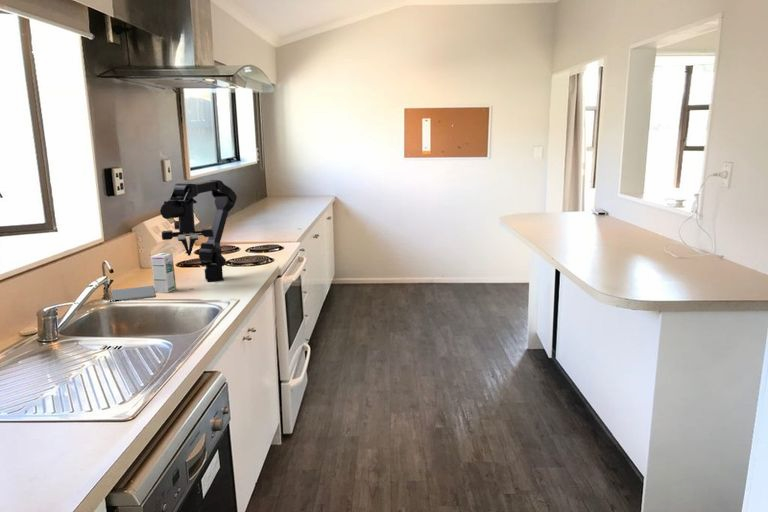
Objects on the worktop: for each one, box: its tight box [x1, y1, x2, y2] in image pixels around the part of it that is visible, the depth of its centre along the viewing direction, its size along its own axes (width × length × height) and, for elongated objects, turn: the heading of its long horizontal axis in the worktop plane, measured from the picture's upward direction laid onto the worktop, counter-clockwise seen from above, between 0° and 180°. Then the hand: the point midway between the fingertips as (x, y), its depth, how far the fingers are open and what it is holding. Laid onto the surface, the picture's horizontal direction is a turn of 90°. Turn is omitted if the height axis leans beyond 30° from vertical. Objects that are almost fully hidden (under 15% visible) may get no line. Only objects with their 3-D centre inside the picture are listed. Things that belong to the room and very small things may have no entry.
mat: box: [107, 285, 156, 302], centre depth 211 cm, size 16×16×1 cm
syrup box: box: [150, 252, 177, 294], centre depth 214 cm, size 6×6×14 cm
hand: (189, 255), depth 217 cm, fingers closed
